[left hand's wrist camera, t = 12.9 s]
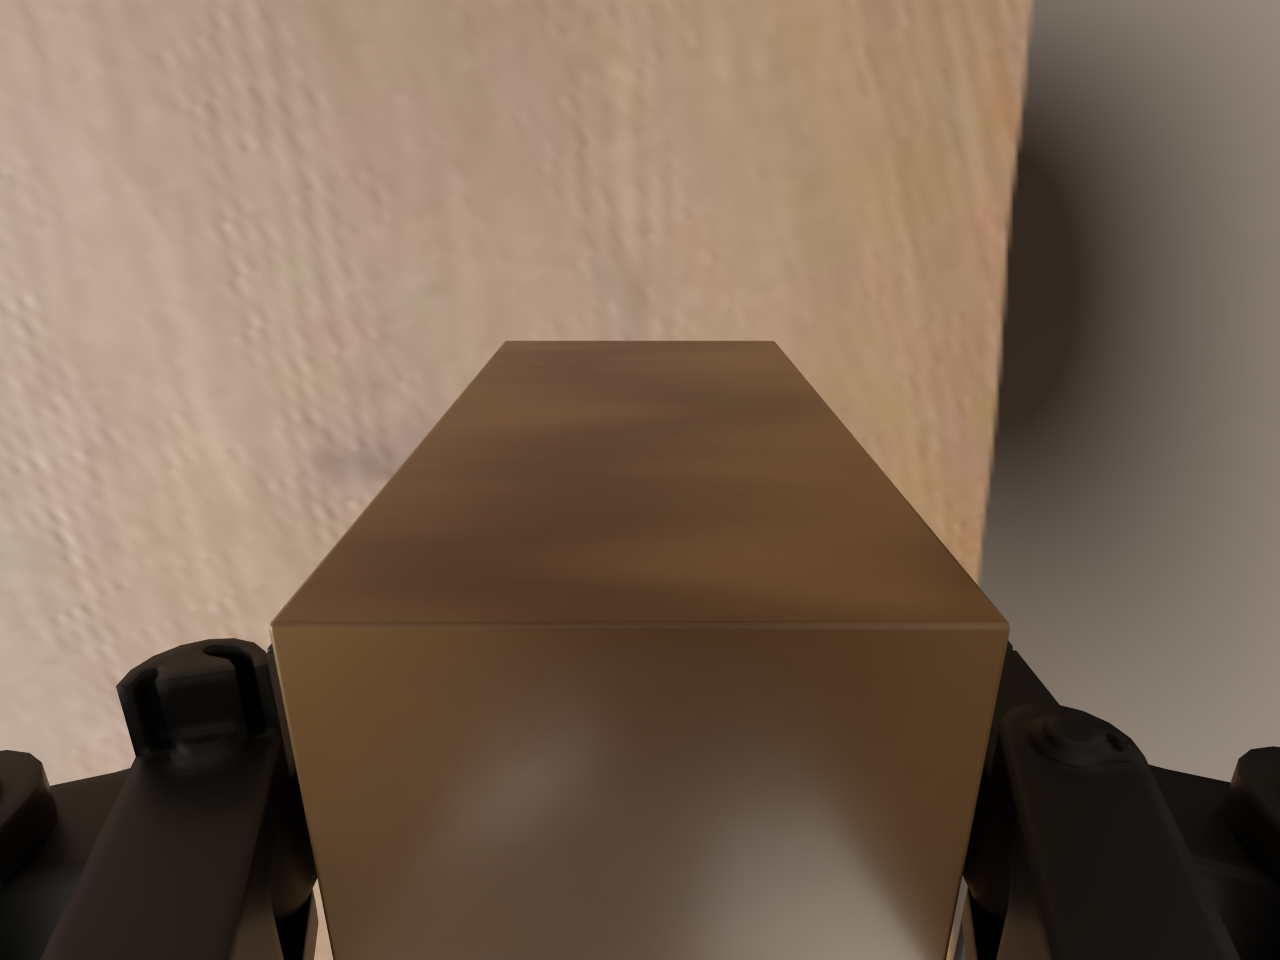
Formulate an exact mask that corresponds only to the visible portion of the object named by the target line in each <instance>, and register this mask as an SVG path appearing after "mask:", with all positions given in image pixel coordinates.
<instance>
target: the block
mask: <svg viewBox="0 0 1280 960" xmlns="http://www.w3.org/2000/svg"><path fill="white" fill-rule="evenodd" d="M269 630H270V636H271V641H272V646H273V651H274V656H275V661H276V666H277V672H278V677H279V682H280V687H281V692H282V697H283V703H284V708H285V713H286V718H287V723H288V728H289V733H290V739H291V744H292V749H293V754H294V759H295V764H296V769H297V775H298V780H299V785H300V790H301V795H302V800H303V805H304V811H305V816H306V821H307V826H308V831H309V836H310V841H311V847H312V852H313V857H314V862H315V867H316V872H317V877H318V883H319V888H320V893H321V898H322V903H323V908H324V913H325V919H326V924H327V929H328V934H329V939H330V944H331V949H332V955H333V960H946V956H947V951H948V946H949V941H950V936H951V931H952V926H953V920H954V915H955V910H956V905H957V900H958V894H959V889H960V884H961V879H962V874H963V869H964V864H965V858H966V853H967V848H968V843H969V838H970V833H971V828H972V822H973V817H974V812H975V807H976V802H977V797H978V791H979V786H980V781H981V776H982V771H983V766H984V761H985V755H986V750H987V745H988V740H989V735H990V730H991V724H992V719H993V714H994V709H995V704H996V699H997V694H998V688H999V683H1000V678H1001V673H1002V668H1003V663H1004V657H1005V652H1006V647H1007V642H1008V637H1009V632H1010V626H1009V623H1008V621H1007V620H1006V619H1005V618H1004V617H1003V615H1002V614H1001V613H1000V612H999V611H998V609H997V608H996V607H995V606H994V605H993V603H992V602H991V601H990V600H989V599H988V597H987V596H986V595H985V594H984V593H983V591H982V590H981V589H980V588H979V587H978V585H977V584H976V583H975V582H974V580H973V579H972V578H971V577H970V576H969V574H968V573H967V572H966V571H965V570H964V568H963V567H962V566H961V565H960V564H959V562H958V561H957V560H956V559H955V558H954V556H953V555H952V554H951V553H950V552H949V550H948V549H947V548H946V547H945V546H944V544H943V543H942V542H941V541H940V540H939V538H938V537H937V536H936V535H935V534H934V532H933V531H932V530H931V529H930V528H929V526H928V525H927V524H926V523H925V522H924V520H923V519H922V518H921V517H920V516H919V514H918V513H917V512H916V511H915V510H914V508H913V507H912V506H911V505H910V504H909V502H908V501H907V500H906V499H905V498H904V496H903V495H902V494H901V493H900V492H899V490H898V489H897V488H896V487H895V486H894V484H893V483H892V482H891V481H890V480H889V478H888V477H887V476H886V475H885V474H884V472H883V471H882V470H881V469H880V468H879V466H878V465H877V464H876V463H875V462H874V460H873V459H872V458H871V457H870V456H869V454H868V453H867V452H866V451H865V450H864V448H863V447H862V446H861V445H860V444H859V442H858V441H857V440H856V439H855V438H854V436H853V435H852V434H851V433H850V432H849V430H848V429H847V428H846V427H845V426H844V424H843V423H842V422H841V421H840V420H839V418H838V417H837V416H836V415H835V413H834V412H833V411H832V410H831V409H830V407H829V406H828V405H827V404H826V403H825V401H824V400H823V399H822V398H821V397H820V395H819V394H818V393H817V392H816V391H815V389H814V388H813V387H812V386H811V385H810V383H809V382H808V381H807V380H806V379H805V377H804V376H803V375H802V374H801V373H800V371H799V370H798V369H797V368H796V367H795V365H794V364H793V363H792V362H791V361H790V359H789V358H788V357H787V356H786V355H785V353H784V352H783V351H782V350H781V349H780V347H779V346H778V345H777V344H776V343H775V342H774V341H506V342H504V343H503V345H502V346H501V347H500V348H499V349H498V351H497V352H496V353H495V354H494V355H493V357H492V358H491V359H490V360H489V361H488V363H487V364H486V365H485V366H484V367H483V369H482V370H481V371H480V372H479V373H478V375H477V376H476V377H475V378H474V379H473V381H472V382H471V383H470V384H469V385H468V387H467V388H466V389H465V390H464V391H463V393H462V394H461V395H460V396H459V397H458V399H457V400H456V401H455V402H454V403H453V405H452V406H451V407H450V408H449V409H448V411H447V412H446V413H445V414H444V415H443V417H442V418H441V419H440V420H439V421H438V423H437V424H436V425H435V426H434V427H433V429H432V430H431V431H430V432H429V433H428V435H427V436H426V437H425V438H424V439H423V441H422V442H421V443H420V444H419V445H418V447H417V448H416V449H415V450H414V451H413V453H412V454H411V455H410V456H409V457H408V459H407V460H406V461H405V462H404V463H403V465H402V466H401V467H400V468H399V469H398V471H397V472H396V473H395V474H394V475H393V477H392V478H391V479H390V480H389V481H388V483H387V484H386V485H385V486H384V487H383V489H382V490H381V491H380V492H379V493H378V495H377V496H376V497H375V498H374V499H373V501H372V502H371V503H370V504H369V505H368V507H367V508H366V509H365V510H364V511H363V513H362V514H361V515H360V516H359V517H358V519H357V520H356V521H355V522H354V523H353V525H352V526H351V527H350V528H349V529H348V531H347V532H346V533H345V534H344V535H343V536H342V538H341V539H340V540H339V541H338V542H337V544H336V545H335V546H334V547H333V548H332V550H331V551H330V552H329V553H328V554H327V556H326V557H325V558H324V559H323V560H322V562H321V563H320V564H319V565H318V566H317V568H316V569H315V570H314V571H313V572H312V574H311V575H310V576H309V577H308V578H307V580H306V581H305V582H304V583H303V584H302V586H301V587H300V588H299V589H298V590H297V592H296V593H295V594H294V595H293V596H292V598H291V599H290V600H289V601H288V602H287V604H286V605H285V606H284V607H283V608H282V610H281V611H280V612H279V613H278V614H277V616H276V617H275V618H274V619H273V620H272V622H271V623H270V627H269Z"/></svg>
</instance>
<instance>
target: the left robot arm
mask: <svg viewBox="0 0 1280 960" xmlns="http://www.w3.org/2000/svg"><path fill="white" fill-rule="evenodd" d="M1012 647H1013V646H1012V645H1011V643H1010V642H1009V641H1008V642H1007V647H1006V652H1005V657H1004V663H1003V668H1002V673H1001V678H1000V683H999V688H998V694H997V699H996V704H995V709H994V714H993V719H992V724H991V730H990V735H989V740H988V745H987V750H986V755H985V761H984V766H983V771H982V776H981V781H980V786H979V791H978V797H977V802H976V807H975V812H974V817H973V822H972V828H971V833H970V838H969V843H968V848H967V853H966V858H965V864H964V869H963V874H962V875H963V877H964V879H965V881H966V883H967V885H968V887H967V892H966V897H965V902H964V907H963V912H962V917H961V922H960V928H959V933H958V938H957V943H956V948H955V953H954V959H953V960H1280V747H1274V746H1273V747H1265V748H1257V749H1251V750H1249V751H1248V752H1247V753H1246V754H1244V755H1243V756H1242V757H1241V758H1239V760H1238V763H1237V766H1236V769H1235V771H1234V774H1233V777H1232V780H1231V783H1230V782H1225V781H1221V780H1216V779H1211V778H1206V777H1201V776H1196V775H1192V774H1187V773H1182V772H1177V771H1172V770H1168V769H1163V768H1160V767H1156V766H1152V765H1149V764H1148V763H1147V761H1146V758H1145V756H1144V755H1143V754H1142V752H1141V751H1140V750H1139V748H1138V747H1137V746H1136V744H1135V743H1134V742H1133V741H1132V739H1131V738H1129V737H1128V736H1127V735H1125V734H1124V733H1123V732H1121V731H1120V730H1118V729H1117V728H1116V727H1114V726H1113V725H1111V724H1110V723H1108V722H1106V721H1104V720H1102V719H1100V718H1097V717H1095V716H1093V715H1091V714H1089V713H1086V712H1084V711H1081V710H1077V709H1073V708H1069V707H1065V706H1061V705H1059V704H1058V702H1057V701H1056V700H1055V699H1054V697H1053V696H1052V695H1051V694H1050V692H1049V691H1048V690H1047V689H1046V687H1045V686H1044V685H1043V684H1042V682H1041V681H1040V680H1039V679H1038V677H1037V676H1036V675H1035V674H1034V672H1033V671H1032V670H1031V669H1030V667H1029V666H1028V665H1027V664H1026V662H1025V661H1024V660H1023V659H1022V657H1021V656H1020V655H1019V654H1018V652H1017V651H1013V648H1012ZM267 650H268V651H267V654H266V652H265V651H264V650H263V649H262V648H260V647H259V646H258V645H257V644H255V643H254V642H249V641H244V640H240V639H235V638H231V639H208V640H203V641H199V642H194V643H190V644H185V645H181V646H178V647H175V648H173V649H170V650H168V651H165V652H163V653H160V654H158V655H155V656H153V657H151V658H150V659H148V660H146V661H145V662H143V663H142V664H140V665H138V666H137V667H135V668H134V669H132V670H130V671H129V673H128V674H127V675H126V676H125V677H124V678H123V679H122V680H121V681H120V682H119V684H118V685H117V686H116V688H117V692H118V695H119V699H120V702H121V706H122V709H123V713H124V716H125V720H126V723H127V727H128V730H129V734H130V737H131V741H132V744H133V748H134V752H135V755H136V758H135V760H134V762H133V764H132V766H131V768H129V769H126V770H122V771H118V772H115V773H110V774H105V775H100V776H96V777H91V778H86V779H81V780H76V781H72V782H67V783H62V784H57V785H53V786H49V783H48V780H47V777H46V774H45V771H44V768H43V765H42V762H40V761H39V760H38V759H37V758H35V757H34V756H33V755H31V754H30V753H25V752H18V751H10V750H4V751H0V960H314V954H315V946H316V938H317V930H318V916H317V908H316V902H315V897H314V892H313V886H314V884H315V882H316V880H317V878H318V877H317V872H316V867H315V862H314V857H313V852H312V847H311V841H310V836H309V831H308V826H307V821H306V816H305V811H304V805H303V800H302V795H301V790H300V785H299V780H298V775H297V769H296V764H295V759H294V754H293V749H292V744H291V739H290V733H289V728H288V723H287V718H286V713H285V708H284V703H283V697H282V692H281V687H280V682H279V677H278V672H277V666H276V661H275V656H274V651H273V646H272V644H271V645H270V646H269V648H268V649H267Z"/></svg>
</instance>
